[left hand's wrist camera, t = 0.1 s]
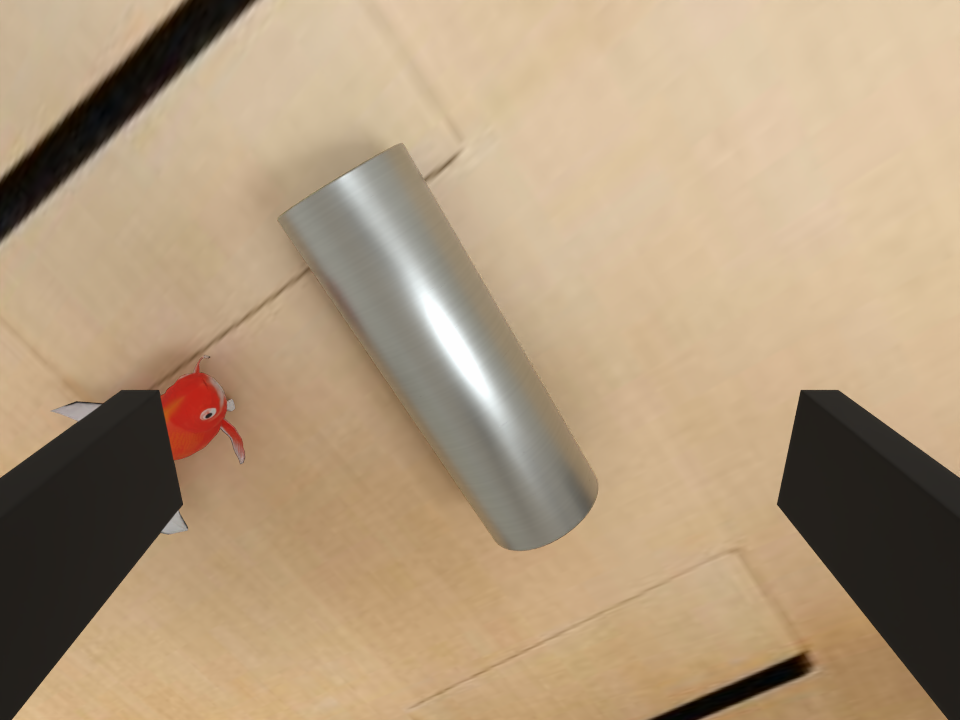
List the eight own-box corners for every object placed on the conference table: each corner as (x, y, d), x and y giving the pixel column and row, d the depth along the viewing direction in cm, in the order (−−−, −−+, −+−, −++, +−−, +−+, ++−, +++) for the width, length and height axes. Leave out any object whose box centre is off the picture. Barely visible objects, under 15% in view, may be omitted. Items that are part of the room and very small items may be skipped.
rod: (300, 209, 38) (255, 228, 30) (410, 141, 37) (391, 143, 29) (490, 496, 46) (493, 570, 38) (587, 449, 44) (610, 516, 37)
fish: (319, 479, 40) (177, 553, 31) (200, 515, 49) (66, 580, 40) (258, 328, 39) (99, 362, 31) (150, 392, 48) (4, 431, 40)
